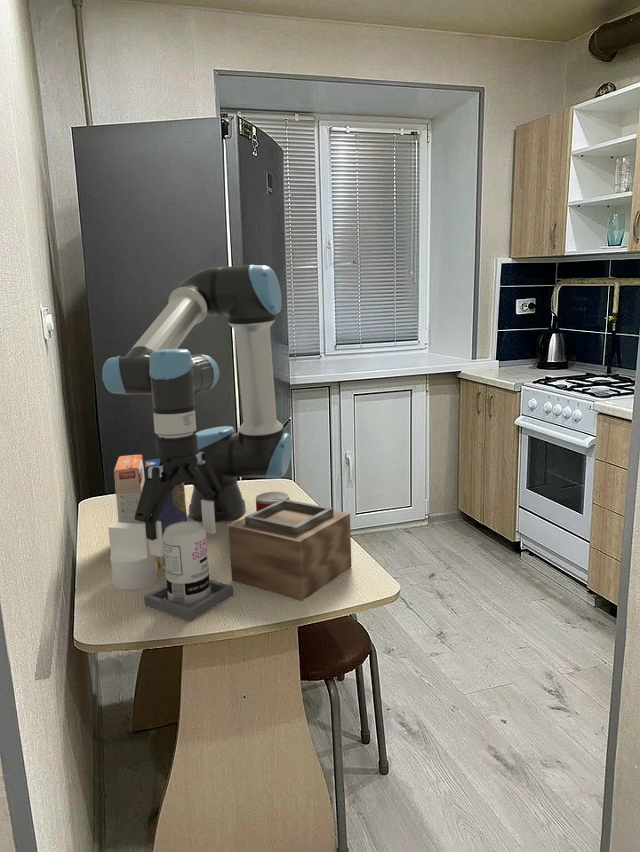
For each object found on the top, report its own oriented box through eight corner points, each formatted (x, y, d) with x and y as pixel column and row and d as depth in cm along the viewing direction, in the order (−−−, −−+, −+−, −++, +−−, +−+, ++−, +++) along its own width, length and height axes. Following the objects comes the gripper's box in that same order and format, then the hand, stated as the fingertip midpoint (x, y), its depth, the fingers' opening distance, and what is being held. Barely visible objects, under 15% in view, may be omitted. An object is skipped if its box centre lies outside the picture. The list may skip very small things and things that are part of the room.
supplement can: (171, 592, 131) (164, 521, 128) (212, 590, 132) (207, 519, 129) (165, 612, 123) (158, 536, 120) (209, 609, 124) (203, 534, 121)
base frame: (190, 582, 136) (189, 573, 135) (233, 595, 129) (233, 586, 129) (145, 605, 126) (144, 596, 126) (189, 621, 119) (188, 611, 119)
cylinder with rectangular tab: (104, 587, 135) (98, 532, 132) (128, 569, 143) (122, 517, 141) (143, 591, 132) (138, 535, 130) (165, 572, 141) (160, 519, 138)
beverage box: (183, 547, 155) (175, 456, 150) (190, 564, 145) (182, 468, 140) (153, 552, 152) (144, 460, 148) (159, 569, 142) (150, 472, 138)
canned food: (287, 547, 152) (284, 502, 150) (254, 545, 154) (251, 501, 152) (294, 535, 160) (292, 492, 157) (263, 533, 161) (260, 491, 159)
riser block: (284, 550, 150) (281, 494, 147) (351, 566, 140) (349, 506, 137) (231, 580, 136) (227, 518, 133) (302, 600, 126) (299, 534, 123)
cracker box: (148, 555, 150) (139, 467, 146) (121, 558, 149) (111, 470, 145) (150, 534, 164) (143, 453, 160) (125, 536, 163) (117, 455, 158)
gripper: (136, 449, 109) (146, 570, 113) (236, 423, 129) (242, 526, 133) (106, 445, 113) (118, 561, 117) (208, 420, 133) (215, 520, 137)
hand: (184, 543), depth 125 cm, fingers open, 13 cm apart
